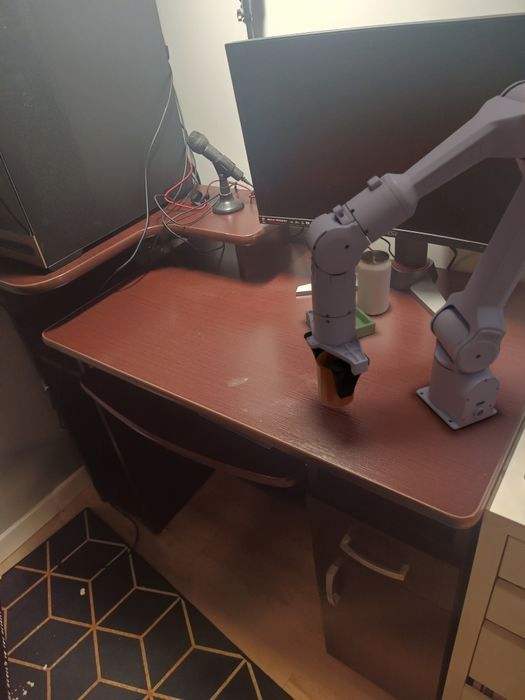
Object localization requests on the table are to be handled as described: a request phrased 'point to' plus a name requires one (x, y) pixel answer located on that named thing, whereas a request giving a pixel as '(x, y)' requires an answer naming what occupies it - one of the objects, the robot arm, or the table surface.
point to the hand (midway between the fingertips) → (335, 383)
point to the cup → (328, 382)
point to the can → (374, 282)
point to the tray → (362, 324)
